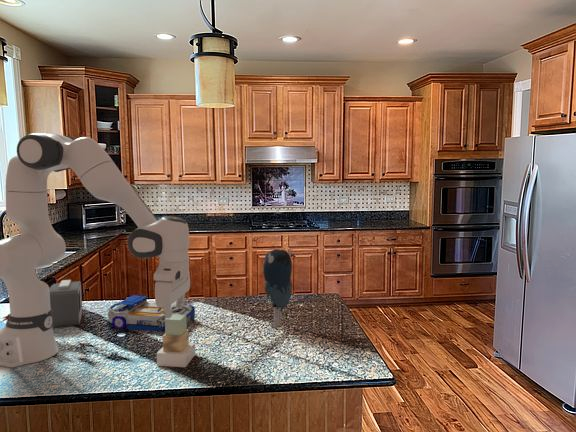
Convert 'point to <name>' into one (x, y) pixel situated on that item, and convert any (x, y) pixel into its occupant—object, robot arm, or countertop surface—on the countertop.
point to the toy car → (144, 314)
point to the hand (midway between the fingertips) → (174, 312)
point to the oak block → (175, 342)
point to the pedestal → (176, 357)
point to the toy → (278, 281)
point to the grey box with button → (66, 303)
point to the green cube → (175, 325)
